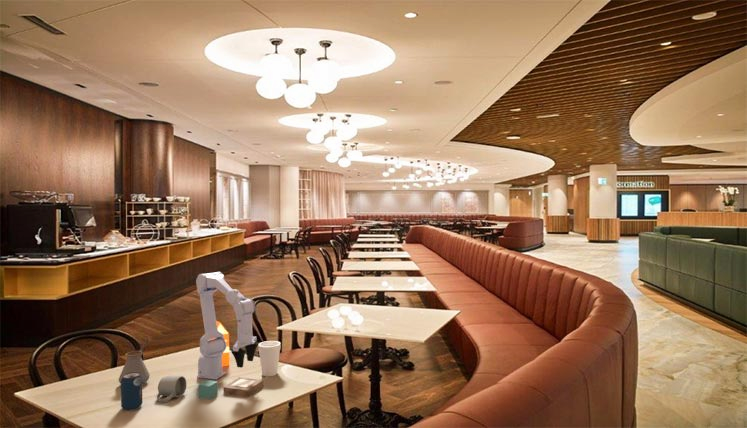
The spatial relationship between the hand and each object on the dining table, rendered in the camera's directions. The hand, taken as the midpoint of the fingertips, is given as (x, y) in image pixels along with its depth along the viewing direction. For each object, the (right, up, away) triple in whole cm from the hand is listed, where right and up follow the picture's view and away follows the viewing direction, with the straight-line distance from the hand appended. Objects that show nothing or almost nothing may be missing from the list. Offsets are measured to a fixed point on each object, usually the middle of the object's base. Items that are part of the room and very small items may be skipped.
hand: (245, 363), depth 194 cm
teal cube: (-12, -10, -7) cm, 18 cm away
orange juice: (-20, -9, +29) cm, 36 cm away
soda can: (-36, -11, -18) cm, 42 cm away
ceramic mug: (-26, -10, -9) cm, 30 cm away
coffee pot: (-47, -10, +10) cm, 49 cm away
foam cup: (+6, -10, +16) cm, 20 cm away
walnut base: (0, -10, -2) cm, 10 cm away
